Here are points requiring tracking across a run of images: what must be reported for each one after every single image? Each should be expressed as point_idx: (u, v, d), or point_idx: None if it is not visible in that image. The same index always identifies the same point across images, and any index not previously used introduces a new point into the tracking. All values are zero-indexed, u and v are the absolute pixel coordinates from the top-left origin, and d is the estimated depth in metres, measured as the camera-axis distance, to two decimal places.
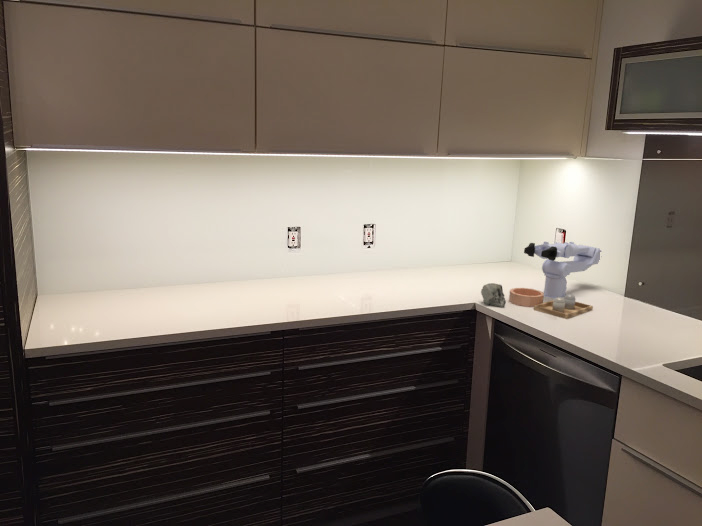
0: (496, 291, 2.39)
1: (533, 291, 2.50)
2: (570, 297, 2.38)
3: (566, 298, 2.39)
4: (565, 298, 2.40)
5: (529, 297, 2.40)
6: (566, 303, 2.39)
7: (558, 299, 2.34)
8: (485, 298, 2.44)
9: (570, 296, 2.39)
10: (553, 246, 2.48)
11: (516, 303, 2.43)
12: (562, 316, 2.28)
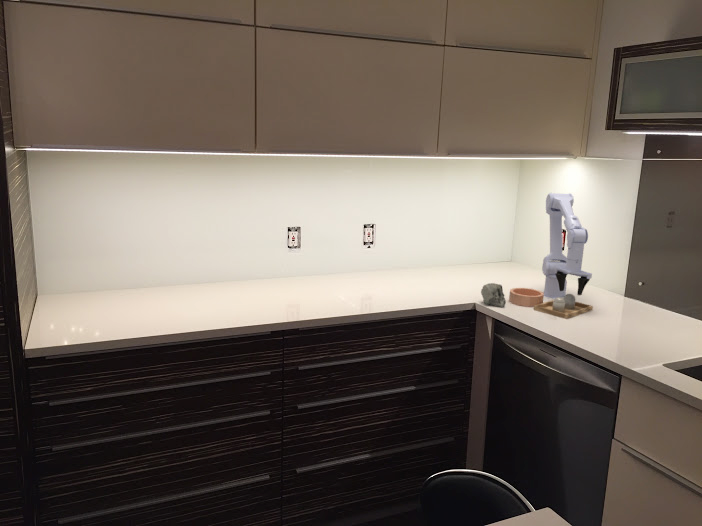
0: (496, 291, 2.39)
1: (533, 291, 2.50)
2: (570, 297, 2.38)
3: (566, 298, 2.39)
4: (565, 298, 2.40)
5: (529, 297, 2.40)
6: (566, 303, 2.39)
7: (558, 299, 2.34)
8: (485, 298, 2.44)
9: (570, 296, 2.39)
10: (575, 264, 2.34)
11: (516, 303, 2.43)
12: (562, 316, 2.28)
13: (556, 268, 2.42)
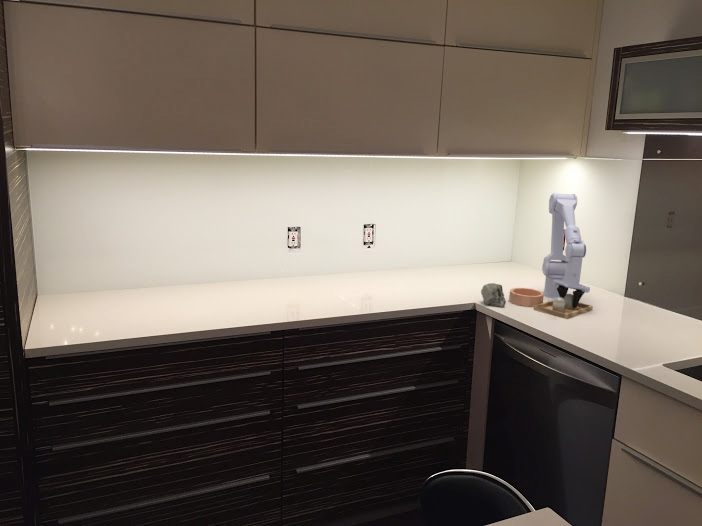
0: (496, 291, 2.39)
1: (533, 291, 2.50)
2: (570, 297, 2.38)
3: (566, 298, 2.39)
4: (565, 298, 2.40)
5: (529, 297, 2.40)
6: (566, 303, 2.39)
7: (558, 299, 2.34)
8: (485, 298, 2.44)
9: (570, 296, 2.39)
10: (573, 278, 2.36)
11: (516, 303, 2.43)
12: (562, 316, 2.28)
13: (554, 281, 2.43)
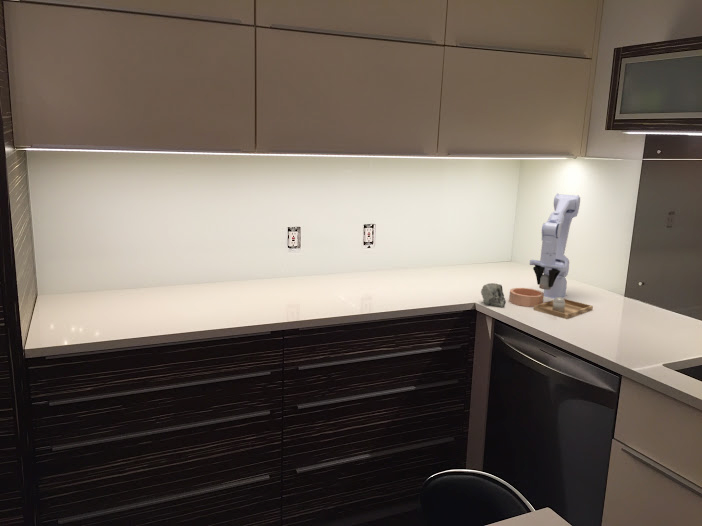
0: (496, 291, 2.39)
1: (533, 291, 2.50)
2: (546, 277, 2.41)
3: (542, 278, 2.42)
4: (541, 278, 2.42)
5: (529, 297, 2.40)
6: (542, 283, 2.42)
7: (558, 299, 2.34)
8: (485, 298, 2.44)
9: (546, 276, 2.41)
10: (549, 258, 2.38)
11: (516, 303, 2.43)
12: (562, 316, 2.28)
13: (531, 261, 2.46)
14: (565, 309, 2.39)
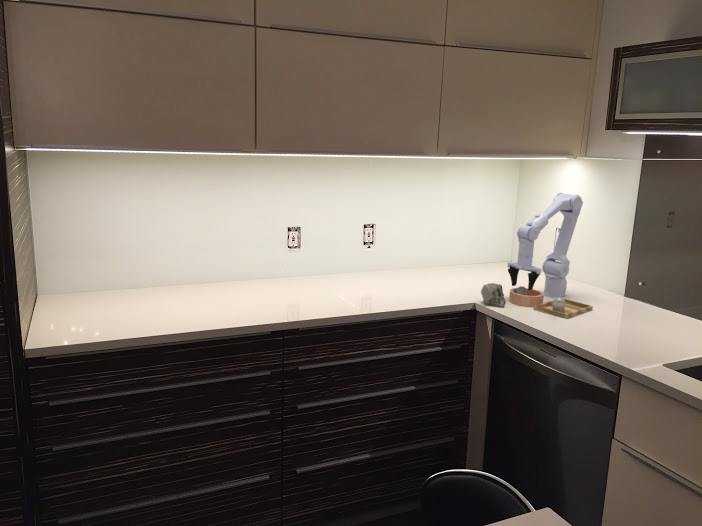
0: (496, 291, 2.39)
1: (533, 291, 2.50)
2: (521, 289, 2.47)
3: (518, 290, 2.47)
4: (517, 290, 2.48)
5: (529, 297, 2.40)
6: None
7: (558, 299, 2.34)
8: (485, 298, 2.44)
9: (521, 288, 2.47)
10: (525, 260, 2.43)
11: (516, 303, 2.43)
12: (562, 316, 2.28)
13: (509, 264, 2.50)
14: (565, 309, 2.39)
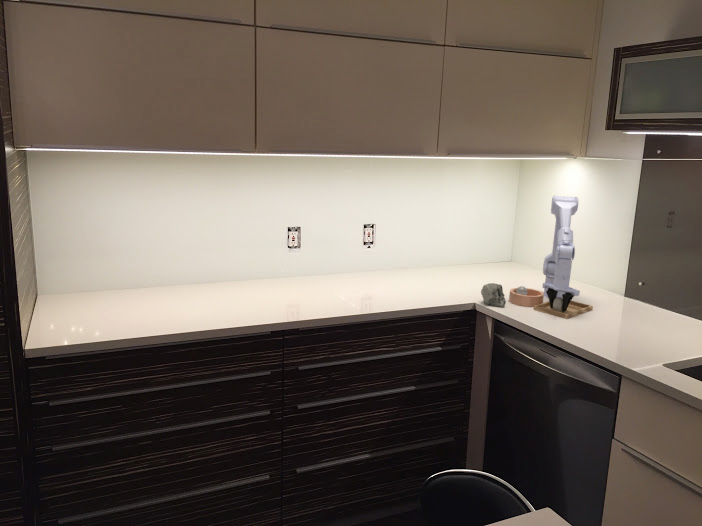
0: (496, 291, 2.39)
1: (533, 291, 2.50)
2: (521, 289, 2.47)
3: (518, 290, 2.47)
4: (517, 290, 2.48)
5: (529, 297, 2.40)
6: None
7: (558, 299, 2.34)
8: (485, 298, 2.44)
9: (521, 288, 2.47)
10: (563, 281, 2.30)
11: (516, 303, 2.43)
12: (562, 316, 2.28)
13: (544, 284, 2.38)
14: None
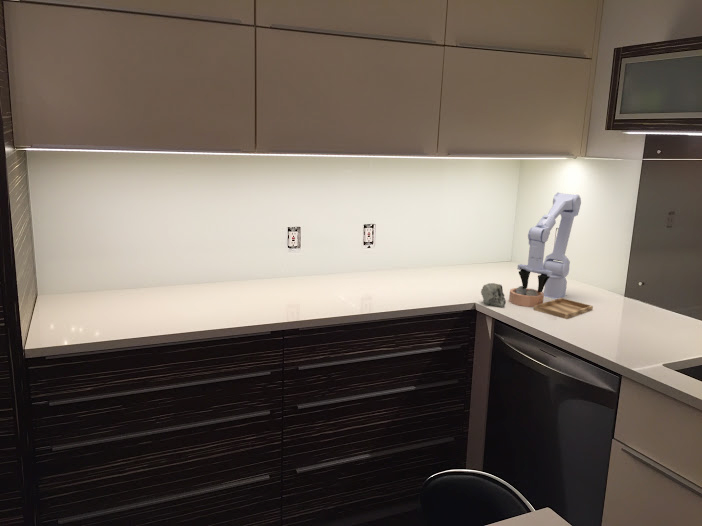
0: (496, 291, 2.39)
1: None
2: (521, 289, 2.47)
3: (517, 290, 2.48)
4: (517, 290, 2.48)
5: (529, 297, 2.40)
6: None
7: (531, 291, 2.43)
8: (485, 298, 2.44)
9: (521, 288, 2.47)
10: (536, 262, 2.39)
11: (516, 303, 2.43)
12: (562, 316, 2.28)
13: (519, 266, 2.47)
14: (565, 309, 2.39)
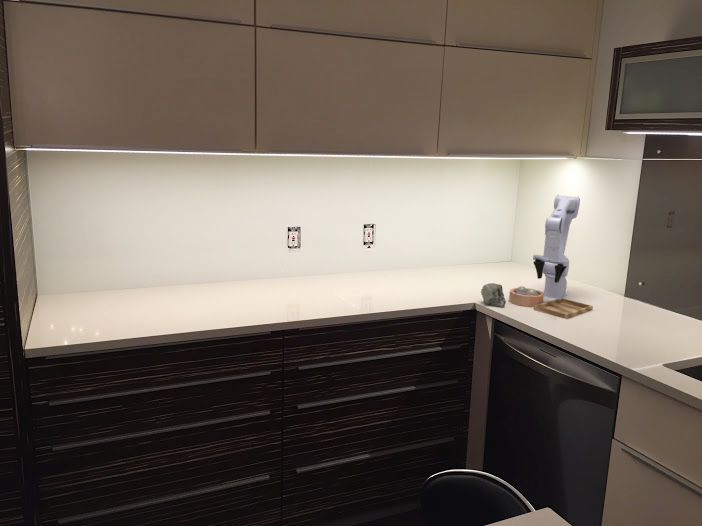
0: (496, 291, 2.39)
1: None
2: (521, 289, 2.47)
3: (518, 290, 2.47)
4: (517, 290, 2.48)
5: (529, 297, 2.40)
6: None
7: (530, 291, 2.43)
8: (485, 298, 2.44)
9: (521, 288, 2.47)
10: (552, 252, 2.39)
11: (516, 303, 2.43)
12: (562, 316, 2.28)
13: (534, 256, 2.46)
14: (565, 309, 2.39)
